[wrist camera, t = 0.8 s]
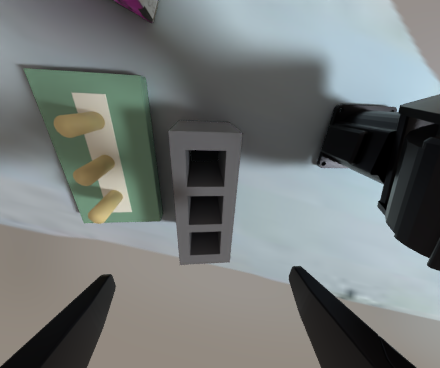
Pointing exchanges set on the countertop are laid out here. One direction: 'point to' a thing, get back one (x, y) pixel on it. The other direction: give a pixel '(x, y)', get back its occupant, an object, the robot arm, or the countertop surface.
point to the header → (102, 142)
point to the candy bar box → (141, 7)
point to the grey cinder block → (204, 189)
